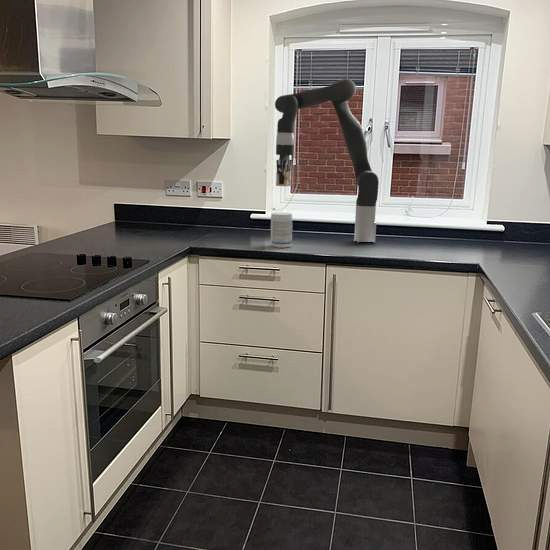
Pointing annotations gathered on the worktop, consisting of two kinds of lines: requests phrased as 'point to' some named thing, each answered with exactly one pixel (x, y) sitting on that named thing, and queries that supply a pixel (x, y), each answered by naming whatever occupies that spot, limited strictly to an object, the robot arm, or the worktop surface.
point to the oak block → (286, 179)
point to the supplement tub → (281, 230)
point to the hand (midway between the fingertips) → (283, 183)
